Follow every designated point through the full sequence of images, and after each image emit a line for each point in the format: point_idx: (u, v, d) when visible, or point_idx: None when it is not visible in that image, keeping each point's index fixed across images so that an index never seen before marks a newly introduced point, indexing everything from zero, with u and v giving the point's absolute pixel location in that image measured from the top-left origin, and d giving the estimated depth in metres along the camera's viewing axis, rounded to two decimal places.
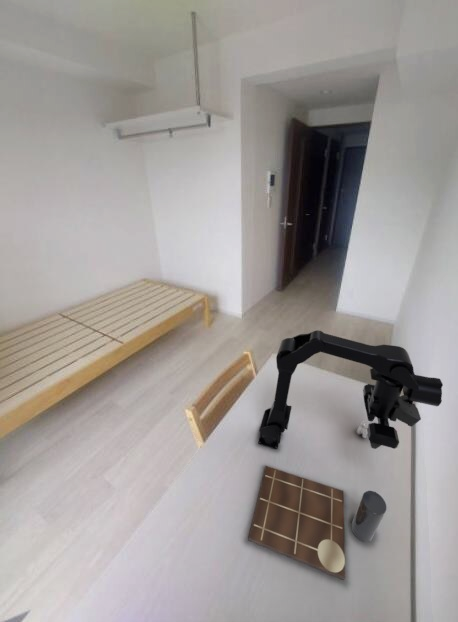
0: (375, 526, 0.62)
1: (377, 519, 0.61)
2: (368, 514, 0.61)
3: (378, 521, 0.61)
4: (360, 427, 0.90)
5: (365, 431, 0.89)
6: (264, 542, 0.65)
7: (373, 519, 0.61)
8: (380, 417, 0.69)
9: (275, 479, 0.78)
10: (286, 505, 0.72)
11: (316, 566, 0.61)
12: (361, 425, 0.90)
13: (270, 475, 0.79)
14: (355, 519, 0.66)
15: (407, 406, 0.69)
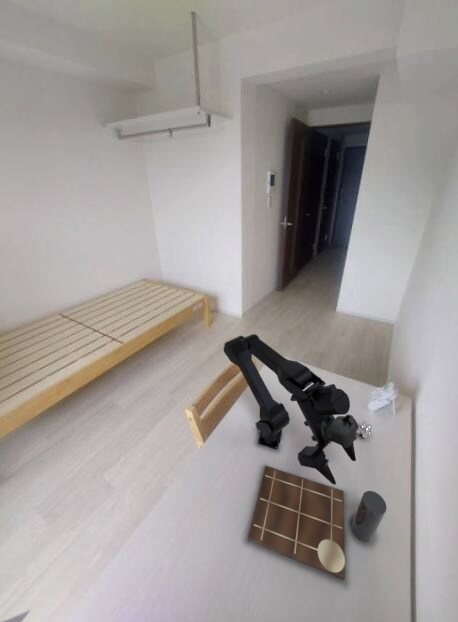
0: (375, 526, 0.62)
1: (377, 519, 0.61)
2: (368, 514, 0.61)
3: (378, 521, 0.61)
4: (360, 427, 0.90)
5: (365, 431, 0.89)
6: (264, 542, 0.65)
7: (373, 519, 0.61)
8: (318, 441, 0.68)
9: (275, 479, 0.78)
10: (286, 505, 0.72)
11: (316, 566, 0.61)
12: (361, 425, 0.90)
13: (270, 475, 0.79)
14: (355, 519, 0.66)
15: (340, 425, 0.65)
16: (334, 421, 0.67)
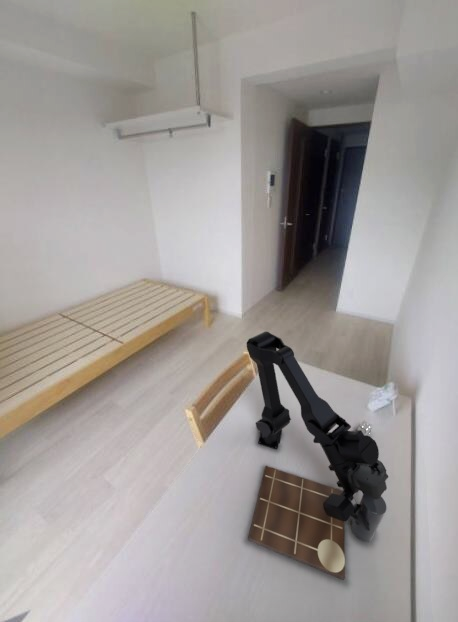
0: (375, 526, 0.62)
1: (377, 519, 0.61)
2: (368, 514, 0.61)
3: (378, 521, 0.61)
4: (360, 427, 0.90)
5: (365, 431, 0.89)
6: (264, 542, 0.65)
7: (373, 519, 0.61)
8: (344, 489, 0.64)
9: (275, 479, 0.78)
10: (286, 505, 0.72)
11: (316, 566, 0.61)
12: (361, 425, 0.90)
13: (270, 475, 0.79)
14: None
15: (368, 473, 0.61)
16: (361, 468, 0.63)
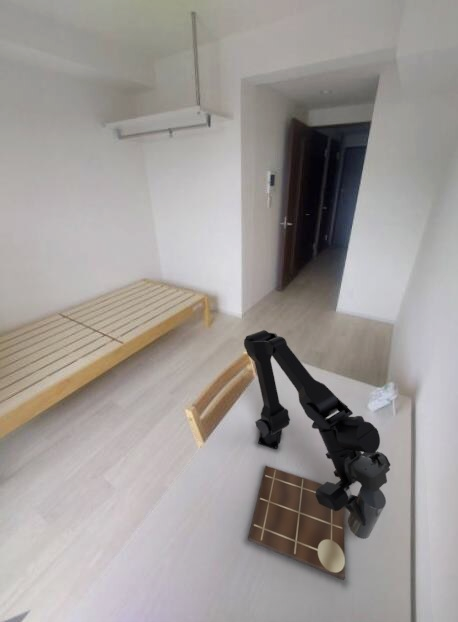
0: (372, 522, 0.57)
1: (374, 514, 0.56)
2: (364, 508, 0.56)
3: (375, 516, 0.56)
4: None
5: None
6: (264, 542, 0.65)
7: (370, 513, 0.56)
8: (341, 478, 0.60)
9: (275, 479, 0.78)
10: (286, 505, 0.72)
11: (316, 566, 0.61)
12: None
13: (270, 475, 0.79)
14: None
15: (367, 464, 0.56)
16: (361, 458, 0.59)
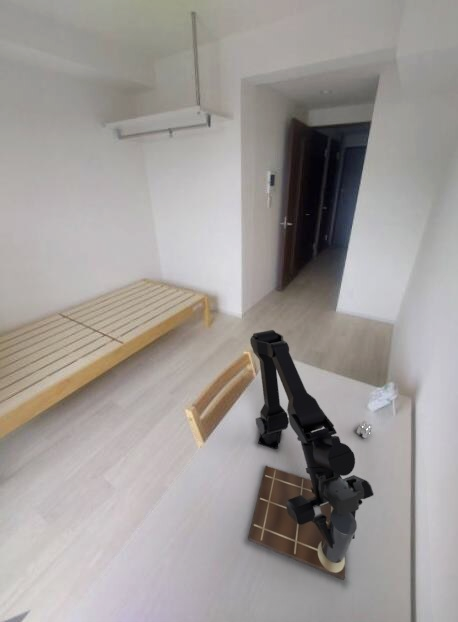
0: (340, 547, 0.56)
1: (342, 540, 0.54)
2: (332, 530, 0.55)
3: (343, 542, 0.55)
4: (360, 427, 0.90)
5: (365, 431, 0.89)
6: (264, 542, 0.65)
7: (337, 537, 0.55)
8: (315, 495, 0.59)
9: (275, 479, 0.78)
10: None
11: (316, 566, 0.61)
12: (361, 425, 0.90)
13: (270, 475, 0.79)
14: None
15: (341, 486, 0.55)
16: (337, 479, 0.57)
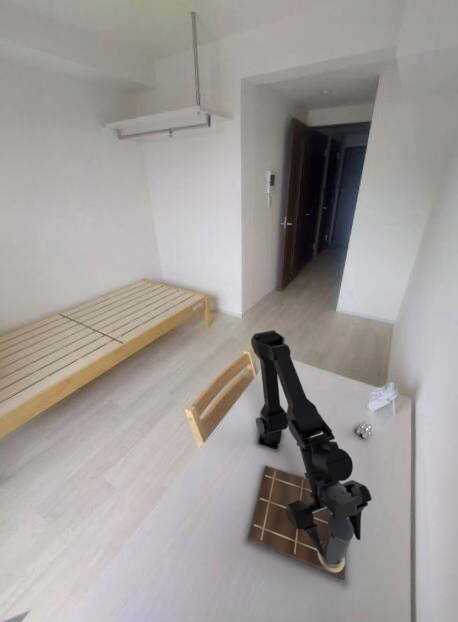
0: (338, 552, 0.57)
1: (339, 545, 0.55)
2: (330, 536, 0.56)
3: (341, 548, 0.56)
4: (360, 427, 0.90)
5: (365, 431, 0.89)
6: (264, 542, 0.65)
7: (335, 543, 0.56)
8: (314, 500, 0.60)
9: (275, 479, 0.78)
10: (286, 505, 0.72)
11: (316, 566, 0.61)
12: (361, 425, 0.90)
13: (270, 475, 0.79)
14: (322, 539, 0.61)
15: (339, 491, 0.56)
16: (336, 484, 0.58)
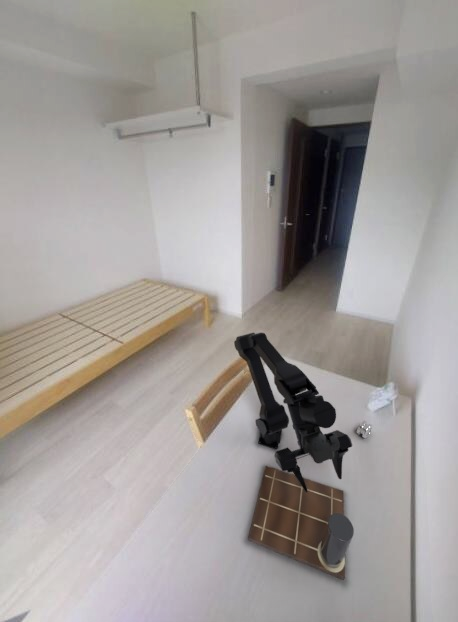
0: (338, 552, 0.57)
1: (339, 545, 0.55)
2: (330, 536, 0.56)
3: (341, 548, 0.56)
4: (360, 427, 0.90)
5: (365, 431, 0.89)
6: (264, 542, 0.65)
7: (335, 543, 0.56)
8: (300, 447, 0.68)
9: (275, 479, 0.78)
10: (286, 505, 0.72)
11: (316, 566, 0.61)
12: (361, 425, 0.90)
13: (270, 475, 0.79)
14: (322, 539, 0.61)
15: (319, 440, 0.63)
16: (317, 434, 0.65)
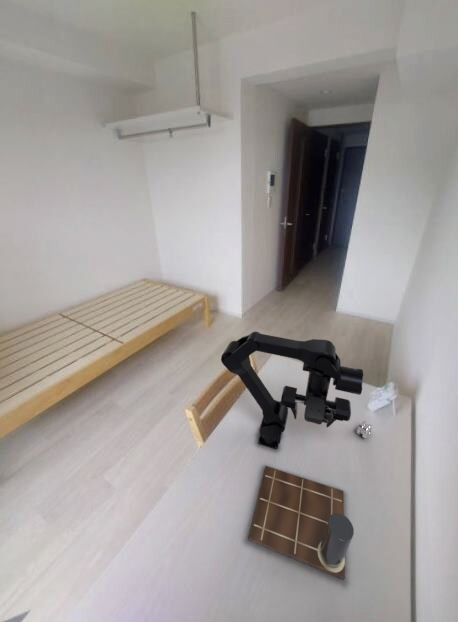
0: (338, 552, 0.57)
1: (339, 545, 0.55)
2: (330, 536, 0.56)
3: (341, 548, 0.56)
4: (360, 427, 0.90)
5: (365, 431, 0.89)
6: (264, 542, 0.65)
7: (335, 543, 0.56)
8: (305, 395, 0.78)
9: (275, 479, 0.78)
10: (286, 505, 0.72)
11: (316, 566, 0.61)
12: (361, 425, 0.90)
13: (270, 475, 0.79)
14: (322, 539, 0.61)
15: (317, 408, 0.71)
16: (320, 401, 0.72)
